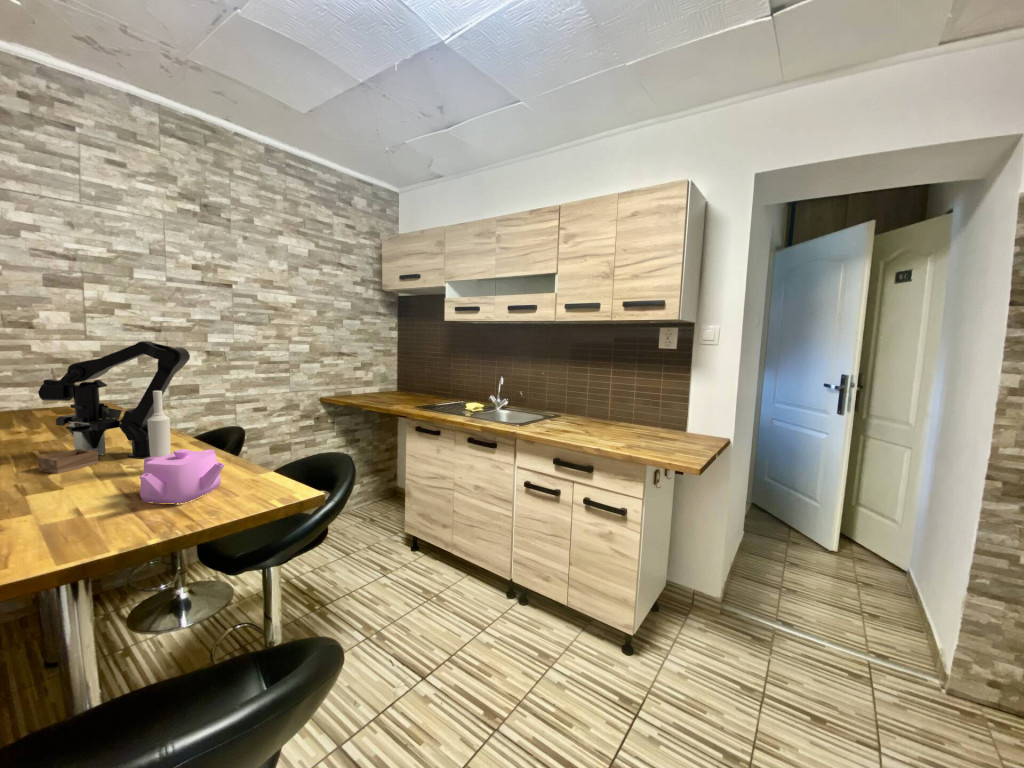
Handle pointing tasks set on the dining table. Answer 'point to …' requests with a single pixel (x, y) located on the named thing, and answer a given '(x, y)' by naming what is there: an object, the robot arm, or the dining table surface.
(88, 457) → the post block
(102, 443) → the light grey squat block
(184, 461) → the teakettle
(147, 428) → the robot arm
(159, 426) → the bottle
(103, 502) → the dining table surface
